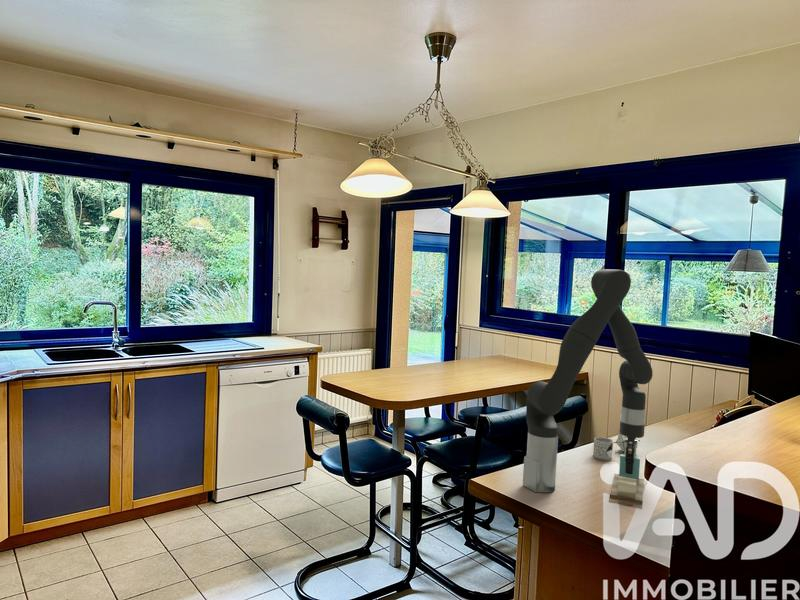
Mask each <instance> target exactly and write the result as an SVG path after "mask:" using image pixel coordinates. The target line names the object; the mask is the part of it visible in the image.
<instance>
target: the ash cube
mask: <svg viewBox="0 0 800 600" xmlns="http://www.w3.org/2000/svg"><path fill="white" fill-rule="evenodd" d="M636 482H637V479H632V478H626V477H621V476H619V478H618V488H617V495H619V496H624V497H629V498H633V499H635V497H636Z"/></svg>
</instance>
